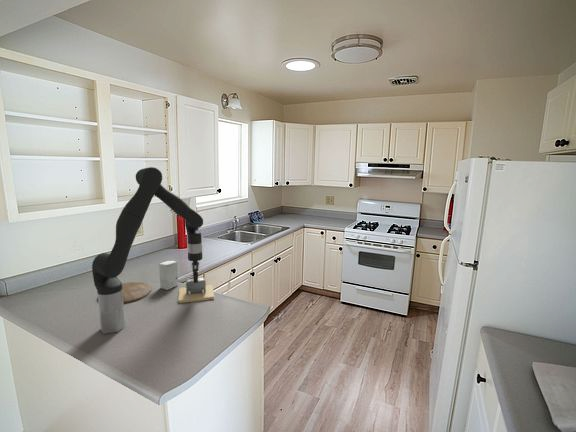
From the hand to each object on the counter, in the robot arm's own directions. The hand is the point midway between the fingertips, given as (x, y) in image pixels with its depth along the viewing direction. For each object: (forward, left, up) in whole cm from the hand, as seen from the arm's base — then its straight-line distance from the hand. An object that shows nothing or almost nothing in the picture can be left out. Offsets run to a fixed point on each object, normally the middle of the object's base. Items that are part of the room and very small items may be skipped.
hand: (195, 279), depth 164 cm
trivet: (+11, +37, -9) cm, 40 cm away
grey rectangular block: (0, 0, -7) cm, 7 cm away
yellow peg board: (0, 0, -9) cm, 9 cm away
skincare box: (+15, +15, -9) cm, 23 cm away
